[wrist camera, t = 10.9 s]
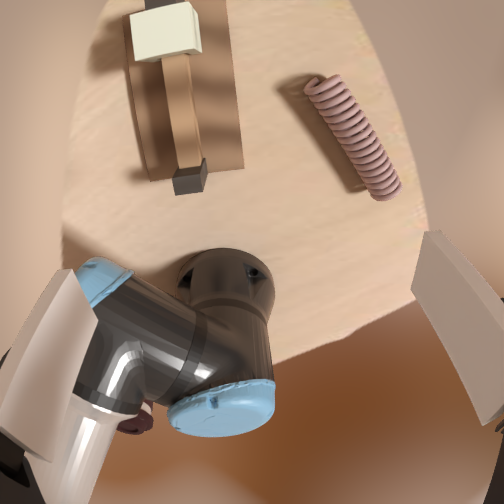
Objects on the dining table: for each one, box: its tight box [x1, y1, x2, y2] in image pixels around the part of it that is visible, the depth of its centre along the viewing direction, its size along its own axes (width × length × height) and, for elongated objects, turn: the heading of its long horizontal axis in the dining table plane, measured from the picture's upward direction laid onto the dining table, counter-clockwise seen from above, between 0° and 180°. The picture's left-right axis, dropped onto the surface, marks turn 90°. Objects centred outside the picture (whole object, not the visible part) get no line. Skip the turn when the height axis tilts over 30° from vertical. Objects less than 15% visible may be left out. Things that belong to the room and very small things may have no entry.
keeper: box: [130, 1, 202, 62], centre depth 24 cm, size 5×6×7 cm
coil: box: [304, 75, 402, 201], centre depth 34 cm, size 5×5×18 cm
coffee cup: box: [116, 399, 153, 435], centre depth 53 cm, size 10×10×15 cm
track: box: [122, 0, 244, 196], centre depth 28 cm, size 22×12×7 cm, turn 5°
